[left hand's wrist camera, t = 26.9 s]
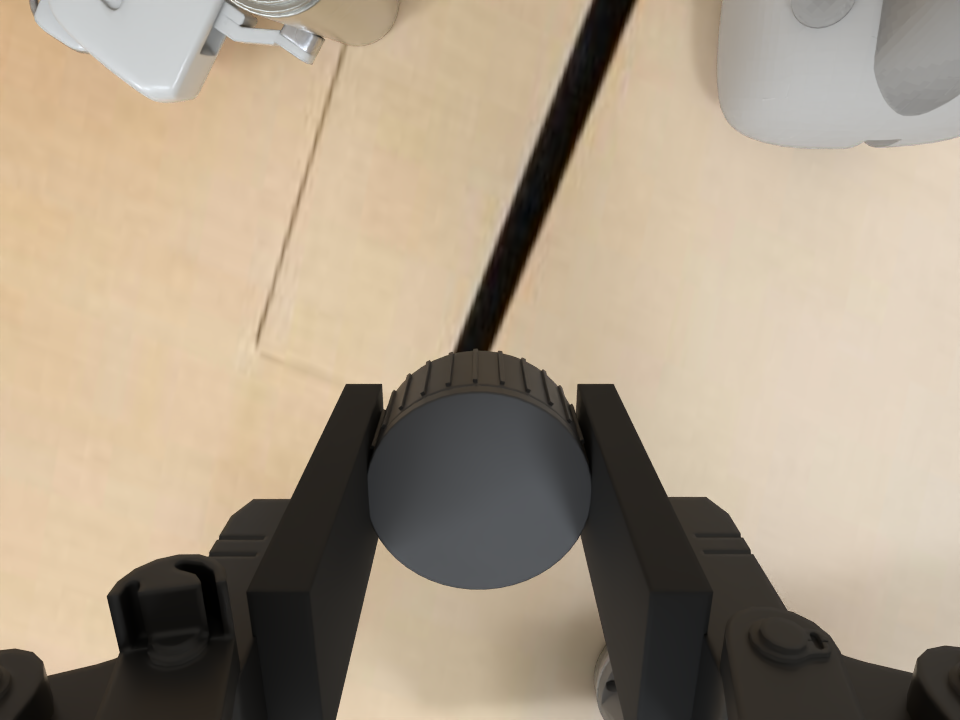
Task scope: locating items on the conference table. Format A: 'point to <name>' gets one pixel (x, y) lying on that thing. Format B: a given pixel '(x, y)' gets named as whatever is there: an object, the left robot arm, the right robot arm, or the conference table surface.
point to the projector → (840, 71)
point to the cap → (478, 472)
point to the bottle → (330, 17)
